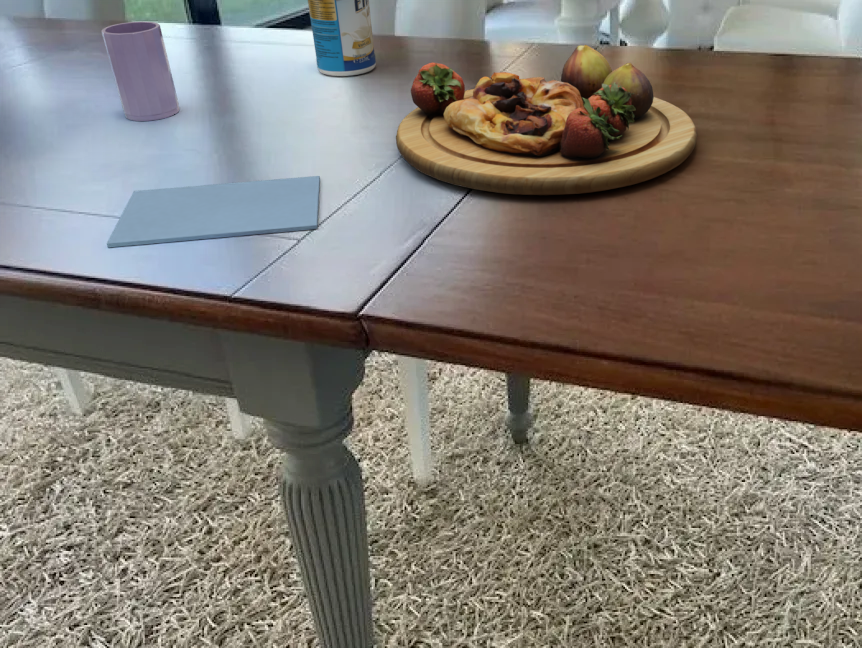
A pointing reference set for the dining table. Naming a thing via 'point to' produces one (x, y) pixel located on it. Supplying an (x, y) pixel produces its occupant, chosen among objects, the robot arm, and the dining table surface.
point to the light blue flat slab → (218, 211)
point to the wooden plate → (544, 129)
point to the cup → (141, 70)
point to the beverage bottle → (342, 36)
